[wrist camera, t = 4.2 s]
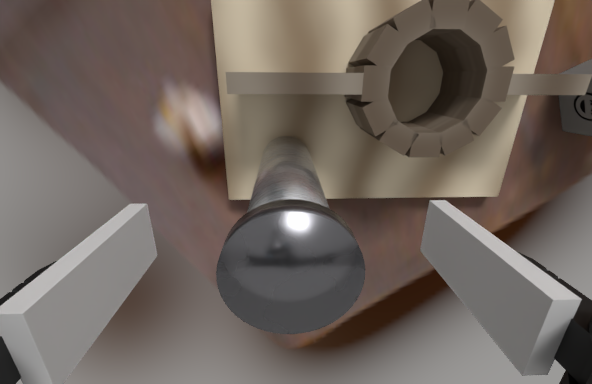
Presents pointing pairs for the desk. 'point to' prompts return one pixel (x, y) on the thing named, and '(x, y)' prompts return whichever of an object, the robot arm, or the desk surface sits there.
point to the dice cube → (577, 105)
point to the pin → (289, 249)
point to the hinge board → (328, 113)
